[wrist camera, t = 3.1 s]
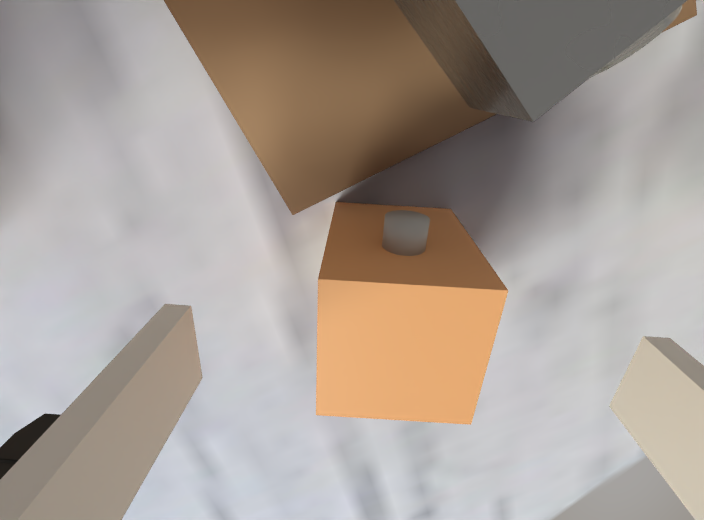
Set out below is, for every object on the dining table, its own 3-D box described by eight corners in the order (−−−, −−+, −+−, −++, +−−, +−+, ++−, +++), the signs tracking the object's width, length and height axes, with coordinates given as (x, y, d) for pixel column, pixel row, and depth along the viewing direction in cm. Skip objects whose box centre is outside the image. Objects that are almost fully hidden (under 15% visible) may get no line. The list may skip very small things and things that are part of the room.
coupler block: (336, 178, 15) (318, 244, 9) (454, 186, 15) (518, 256, 9) (331, 316, 18) (315, 436, 12) (430, 322, 18) (465, 445, 12)
